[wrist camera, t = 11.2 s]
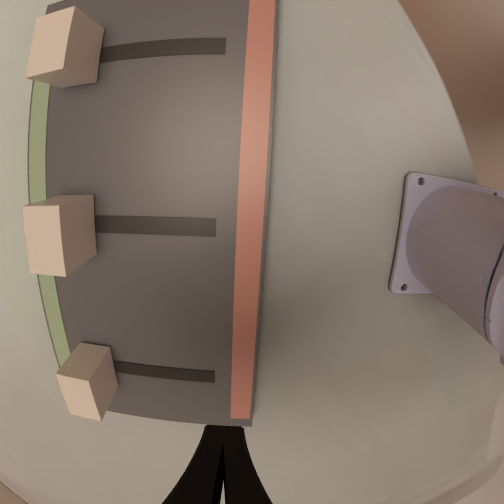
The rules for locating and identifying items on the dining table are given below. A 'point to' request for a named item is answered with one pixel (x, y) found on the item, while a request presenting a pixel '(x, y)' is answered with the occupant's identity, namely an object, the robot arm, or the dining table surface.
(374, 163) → the dining table surface
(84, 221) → the breaker middle
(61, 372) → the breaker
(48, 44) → the block
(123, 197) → the breaker panel
